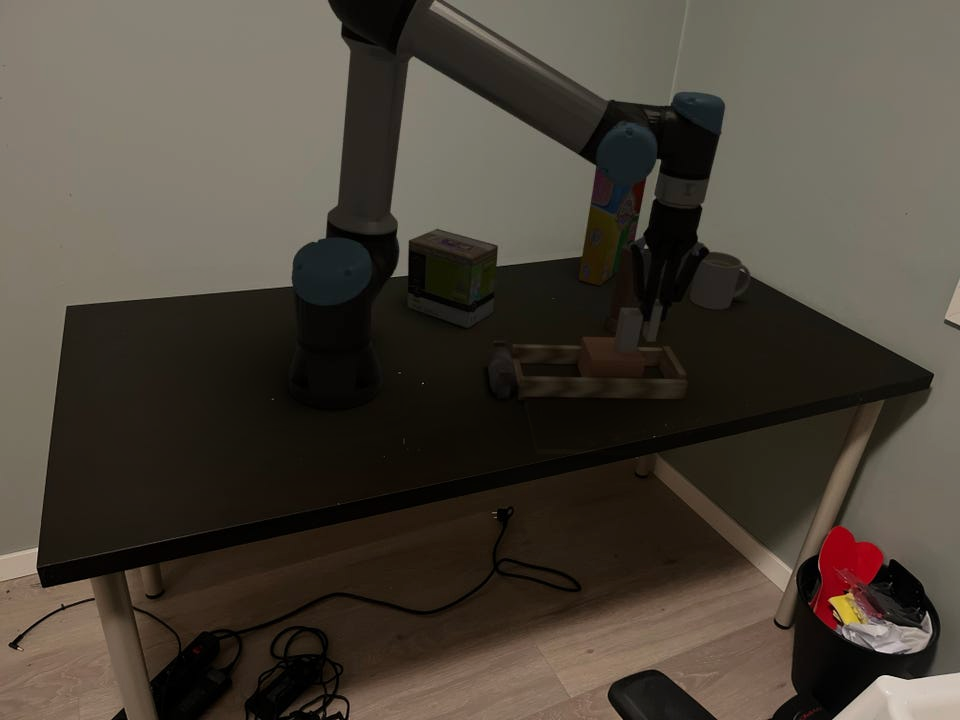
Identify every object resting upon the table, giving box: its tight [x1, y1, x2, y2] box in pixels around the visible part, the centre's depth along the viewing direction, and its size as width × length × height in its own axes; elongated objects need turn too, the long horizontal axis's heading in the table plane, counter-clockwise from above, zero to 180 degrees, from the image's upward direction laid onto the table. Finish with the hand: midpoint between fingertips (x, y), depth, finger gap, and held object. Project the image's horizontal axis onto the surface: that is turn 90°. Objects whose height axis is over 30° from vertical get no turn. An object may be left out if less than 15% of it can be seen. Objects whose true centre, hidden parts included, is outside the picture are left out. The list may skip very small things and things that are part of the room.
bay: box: [485, 339, 688, 402], centre depth 122 cm, size 33×12×5 cm, turn 95°
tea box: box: [407, 228, 499, 329], centre depth 141 cm, size 15×10×15 cm, turn 58°
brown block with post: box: [577, 307, 646, 379], centre depth 120 cm, size 9×9×13 cm
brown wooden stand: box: [603, 244, 666, 334], centre depth 138 cm, size 4×11×18 cm, turn 107°
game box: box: [578, 165, 648, 286], centre depth 162 cm, size 21×6×27 cm, turn 149°
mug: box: [689, 251, 751, 311], centre depth 155 cm, size 11×10×10 cm
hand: (648, 337), depth 120 cm, fingers closed
